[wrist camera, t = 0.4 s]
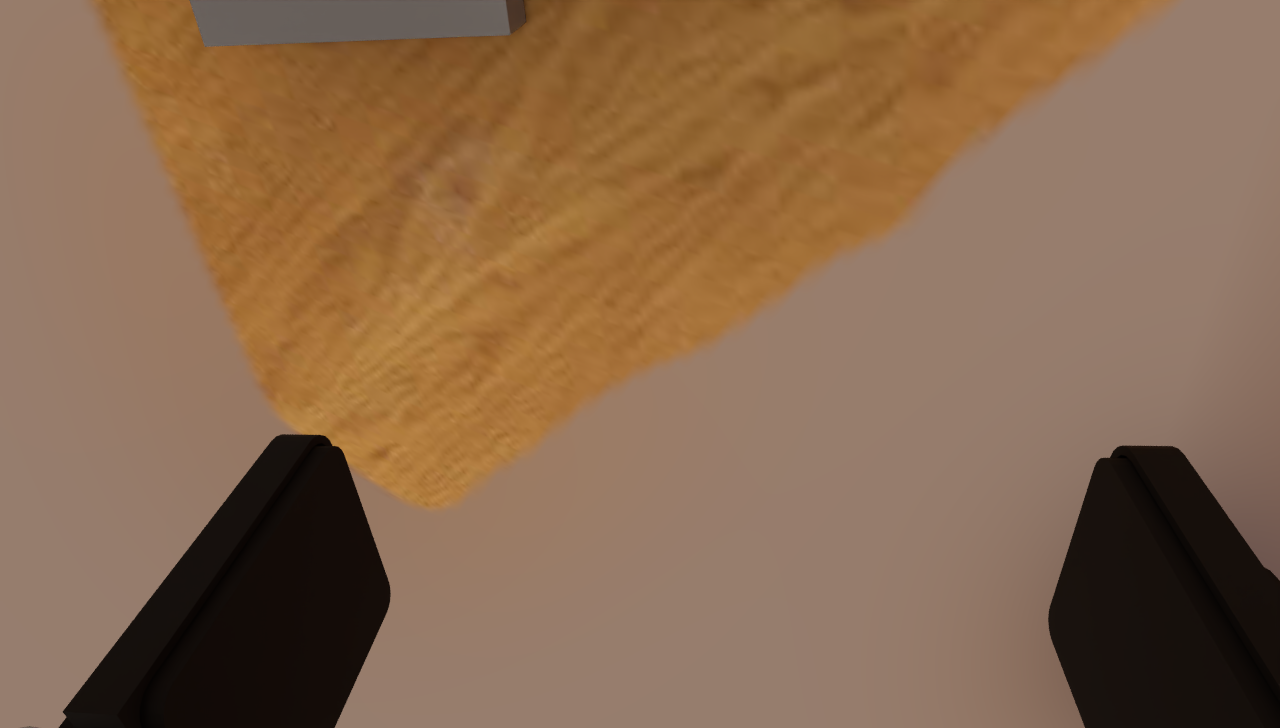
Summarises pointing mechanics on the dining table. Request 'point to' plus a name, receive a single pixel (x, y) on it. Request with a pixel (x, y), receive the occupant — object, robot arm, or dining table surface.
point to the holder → (351, 20)
